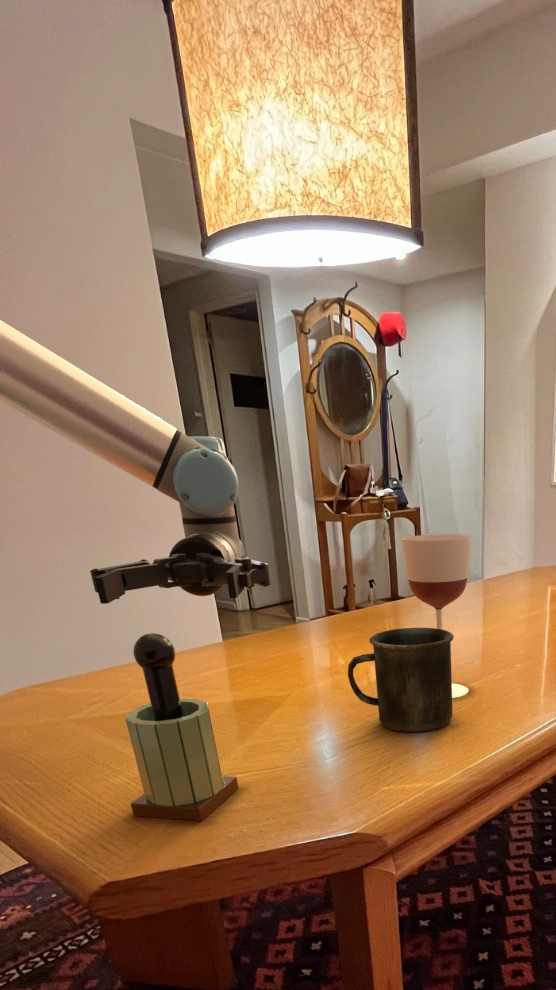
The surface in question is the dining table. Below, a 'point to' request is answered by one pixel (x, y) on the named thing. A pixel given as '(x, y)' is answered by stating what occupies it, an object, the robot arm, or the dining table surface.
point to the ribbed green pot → (176, 754)
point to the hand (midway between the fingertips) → (166, 588)
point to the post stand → (166, 705)
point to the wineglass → (438, 573)
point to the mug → (410, 678)
